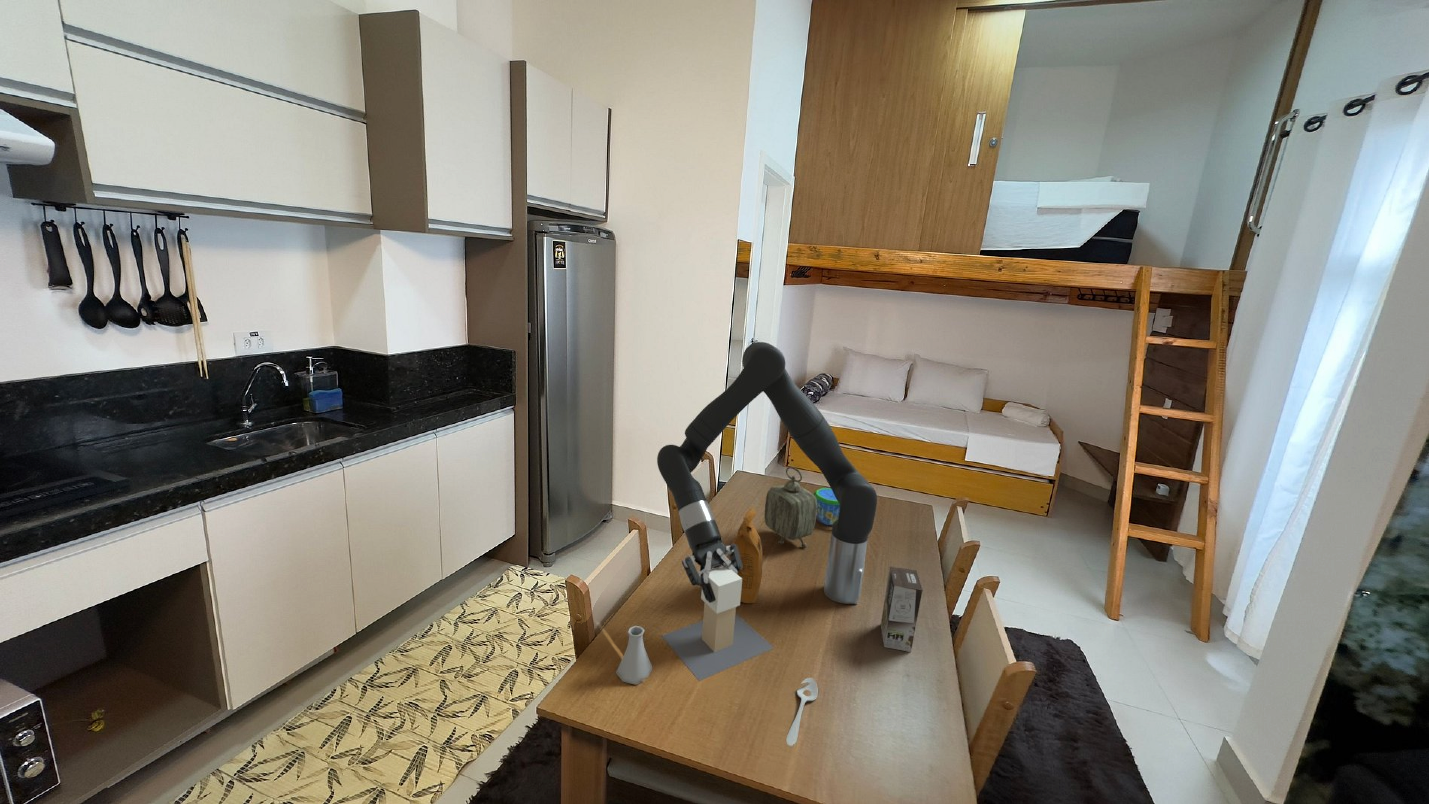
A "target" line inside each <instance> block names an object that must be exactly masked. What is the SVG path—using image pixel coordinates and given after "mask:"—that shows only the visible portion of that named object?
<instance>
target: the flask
mask: <svg viewBox="0 0 1429 804" xmlns="http://www.w3.org/2000/svg"><path fill="white" fill-rule="evenodd" d="M644 633H645V629H644V628H643V627H642V626H638V625H633V626H631V627H629V629H628V630H627V635H628V642H627V647H626V648H625V649H626V650H625V651H624V654H623V657H622V658H621V661H620V663H619V665H618V667H617V669H616V672H615V673H616V675H617V677H619V679H620V680H621V681H622V682H623V683H624V682H625V683H628V684H632V685H638V684H640V683H643V680H645V679H647V678H649V676H650V674H651V672H652V670H653V666H652V663H651V661H650V659H649V655H648V653H647V651H646V648H645V645H644V637H643V635H644Z"/></svg>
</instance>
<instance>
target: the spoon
mask: <svg viewBox="0 0 1429 804" xmlns="http://www.w3.org/2000/svg"><path fill="white" fill-rule="evenodd" d="M805 683H808V684H805ZM802 684H805V685H803V686H801V687H799V688H798V689H796V694H797V696H798V697H799V698H800V699H801V700H800V704H799V708H798V710H797V713H796V716H795V718H794V719H793V721H792V724H791V726H790V728H789V731H788V734H787V735H786V744H787V745H788V746H790V747H792V746H794V745H795V744H796V742H797V740H798V736H799V730H800V725H801V717H802V715H803V714H802V713H803V709H804V706H805V703H807V702H813V701H815V700H816V699H817V698H818V693H819V692H818V691H819V690H818V685H817V681H816V680H815V679H814V678H813V677H807V678H805V679H804V680H802V682H801V683H800V685H802ZM805 691H809V692H810V695H805V694H804V692H805ZM793 744H794V745H793Z"/></svg>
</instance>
